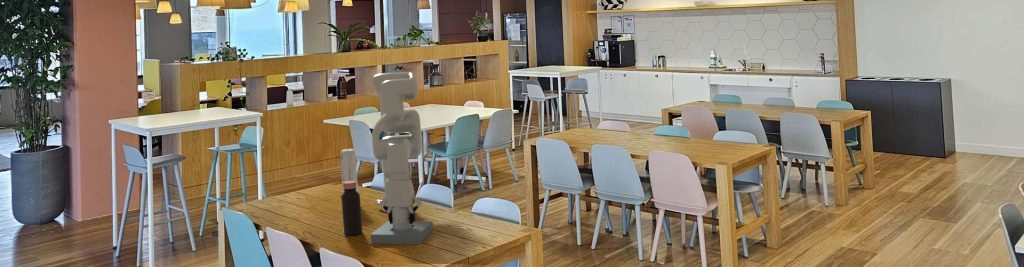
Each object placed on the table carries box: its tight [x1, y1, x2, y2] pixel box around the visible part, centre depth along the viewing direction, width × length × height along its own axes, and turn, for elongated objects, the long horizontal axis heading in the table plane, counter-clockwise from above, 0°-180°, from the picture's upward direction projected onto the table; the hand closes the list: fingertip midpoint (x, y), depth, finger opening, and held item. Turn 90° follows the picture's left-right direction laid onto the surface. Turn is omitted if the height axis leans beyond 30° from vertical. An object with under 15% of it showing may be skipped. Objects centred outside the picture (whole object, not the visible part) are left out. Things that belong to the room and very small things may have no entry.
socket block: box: [370, 220, 434, 245], centre depth 284 cm, size 18×18×4 cm
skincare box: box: [392, 203, 412, 231], centre depth 284 cm, size 6×4×12 cm
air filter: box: [339, 148, 359, 194], centre depth 336 cm, size 6×6×25 cm
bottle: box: [340, 181, 363, 237], centre depth 291 cm, size 7×7×20 cm
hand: (402, 222), depth 284 cm, fingers closed on skincare box, 7 cm apart
